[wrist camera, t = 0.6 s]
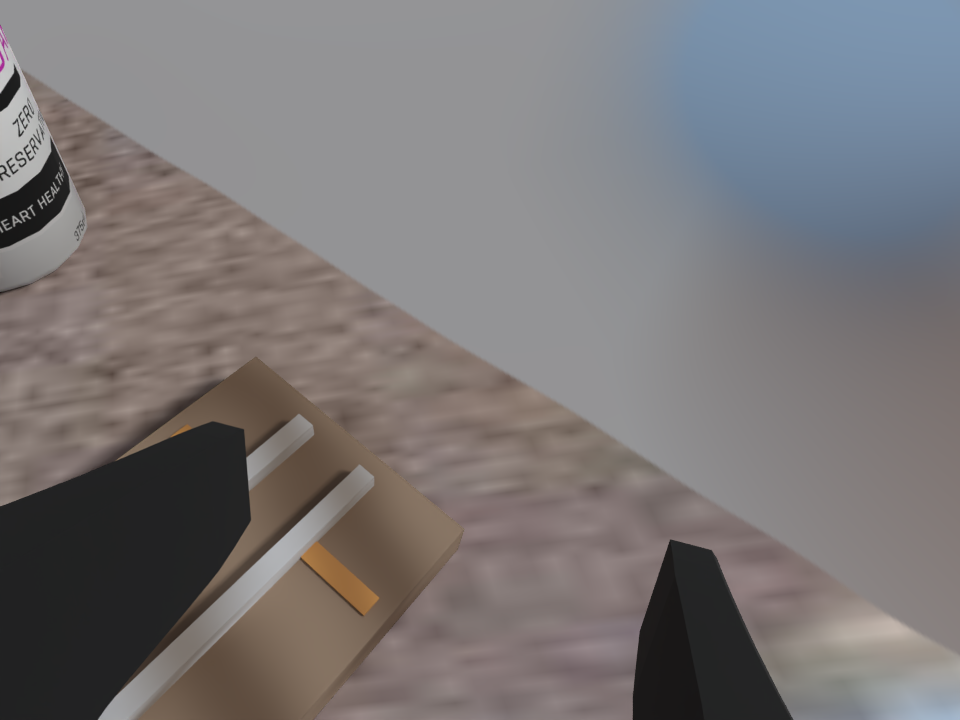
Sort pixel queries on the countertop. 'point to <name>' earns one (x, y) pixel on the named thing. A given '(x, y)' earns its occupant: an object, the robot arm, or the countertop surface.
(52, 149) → the supplement can
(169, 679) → the tan slider track board
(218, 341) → the countertop surface
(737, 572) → the countertop surface
